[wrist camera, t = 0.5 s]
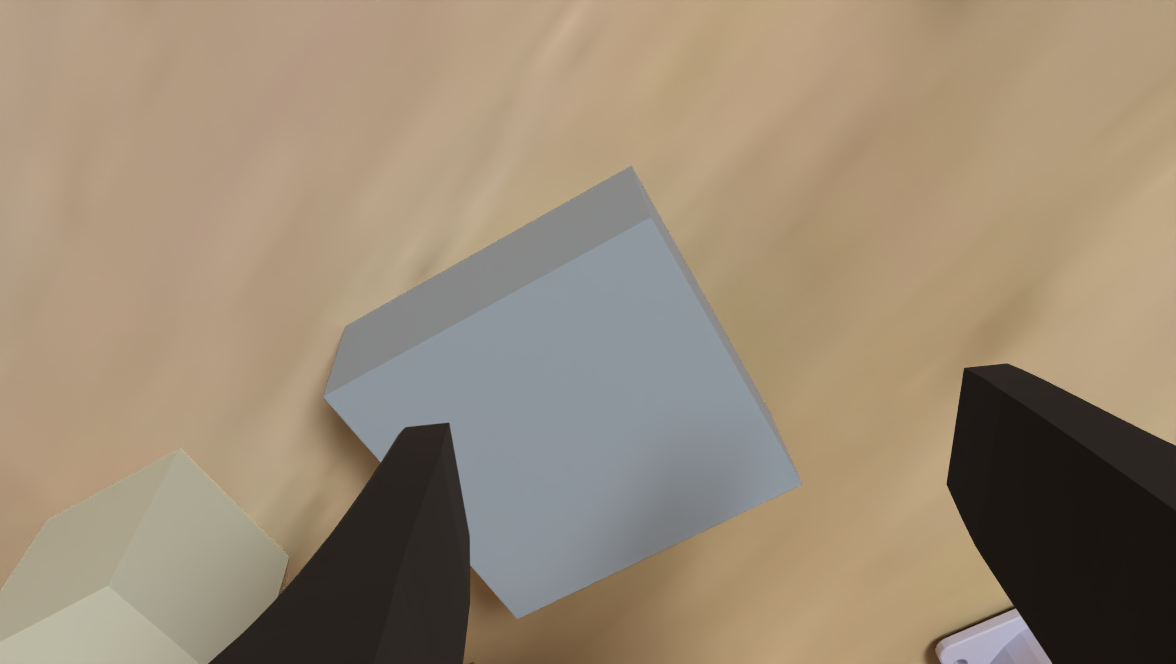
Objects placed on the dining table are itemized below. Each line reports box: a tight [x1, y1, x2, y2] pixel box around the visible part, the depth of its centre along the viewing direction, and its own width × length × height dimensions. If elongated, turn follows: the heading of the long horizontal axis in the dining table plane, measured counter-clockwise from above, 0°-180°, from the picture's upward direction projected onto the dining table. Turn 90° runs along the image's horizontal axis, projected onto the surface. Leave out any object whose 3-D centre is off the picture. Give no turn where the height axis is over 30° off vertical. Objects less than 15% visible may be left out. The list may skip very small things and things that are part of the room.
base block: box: [323, 166, 802, 619], centre depth 22 cm, size 8×8×4 cm
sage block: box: [0, 448, 289, 664], centre depth 23 cm, size 4×4×5 cm
